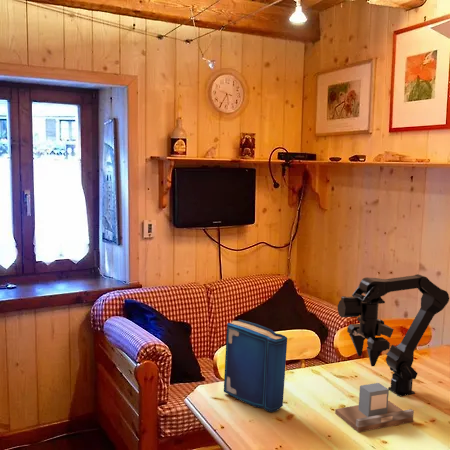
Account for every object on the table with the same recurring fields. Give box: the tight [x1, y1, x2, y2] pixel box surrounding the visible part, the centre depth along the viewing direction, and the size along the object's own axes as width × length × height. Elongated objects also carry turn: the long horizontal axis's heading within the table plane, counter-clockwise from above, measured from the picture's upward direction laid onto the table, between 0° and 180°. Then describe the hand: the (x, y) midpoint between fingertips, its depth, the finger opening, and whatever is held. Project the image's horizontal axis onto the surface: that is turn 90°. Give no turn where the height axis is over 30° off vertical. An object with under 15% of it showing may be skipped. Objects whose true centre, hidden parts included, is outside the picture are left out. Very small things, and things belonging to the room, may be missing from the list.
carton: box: [358, 382, 389, 417], centre depth 160 cm, size 5×7×8 cm
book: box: [223, 318, 288, 413], centre depth 168 cm, size 22×7×25 cm, turn 47°
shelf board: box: [334, 400, 415, 433], centre depth 160 cm, size 20×12×4 cm, turn 111°
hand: (366, 360), depth 175 cm, fingers open, 9 cm apart
